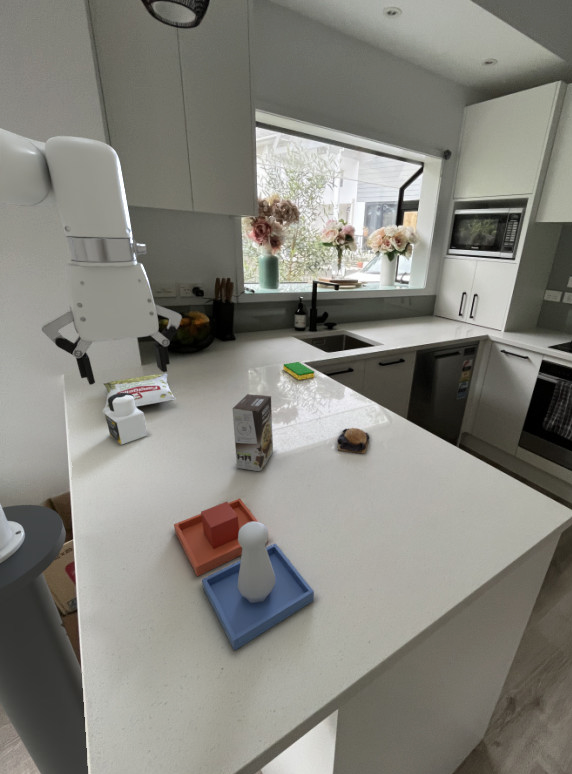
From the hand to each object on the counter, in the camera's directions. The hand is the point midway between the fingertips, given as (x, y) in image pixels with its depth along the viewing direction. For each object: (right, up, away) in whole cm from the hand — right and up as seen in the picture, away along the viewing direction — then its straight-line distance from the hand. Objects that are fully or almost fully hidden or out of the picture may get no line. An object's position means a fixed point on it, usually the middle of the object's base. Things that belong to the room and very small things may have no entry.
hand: (128, 375), depth 56 cm
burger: (+36, -15, +48) cm, 62 cm away
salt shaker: (+19, -34, +3) cm, 39 cm away
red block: (+10, -29, +14) cm, 34 cm away
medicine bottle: (-26, -13, +46) cm, 55 cm away
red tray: (+10, -29, +14) cm, 34 cm away
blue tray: (+19, -35, +3) cm, 40 cm away
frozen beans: (-34, -3, +68) cm, 76 cm away
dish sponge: (+16, +7, +96) cm, 98 cm away
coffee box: (+11, -19, +38) cm, 44 cm away
